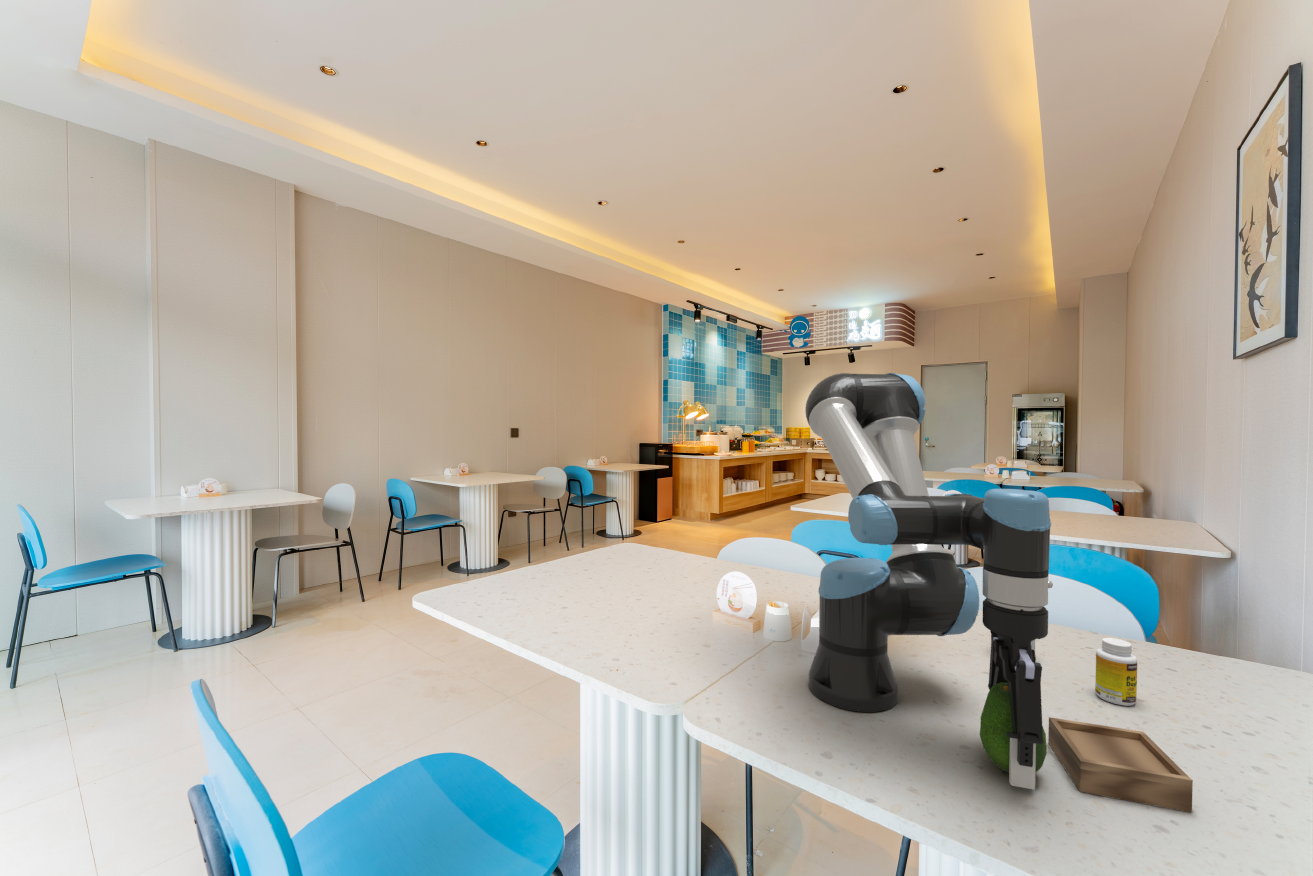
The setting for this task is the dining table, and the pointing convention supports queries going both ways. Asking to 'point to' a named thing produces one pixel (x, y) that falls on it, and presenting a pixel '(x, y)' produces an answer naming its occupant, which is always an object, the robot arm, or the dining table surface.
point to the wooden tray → (1119, 764)
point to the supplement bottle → (1116, 672)
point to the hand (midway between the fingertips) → (1012, 766)
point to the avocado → (1002, 728)
